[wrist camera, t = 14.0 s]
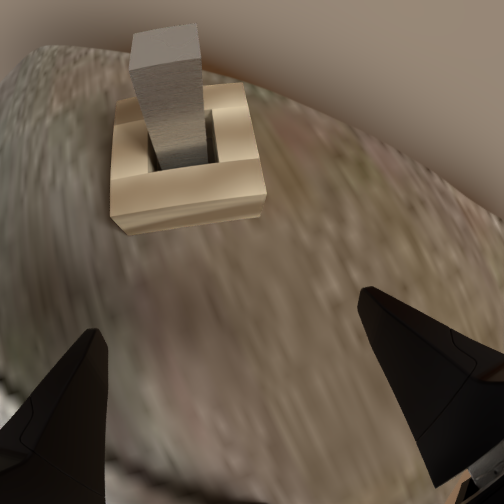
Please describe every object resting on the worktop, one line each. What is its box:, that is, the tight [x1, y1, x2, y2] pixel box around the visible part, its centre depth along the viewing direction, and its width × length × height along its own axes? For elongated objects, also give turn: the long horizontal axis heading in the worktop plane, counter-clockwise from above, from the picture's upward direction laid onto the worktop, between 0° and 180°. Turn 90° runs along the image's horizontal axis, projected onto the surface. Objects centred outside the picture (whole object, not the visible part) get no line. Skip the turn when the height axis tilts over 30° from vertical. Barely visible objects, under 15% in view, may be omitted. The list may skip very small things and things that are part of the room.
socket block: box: [110, 82, 267, 236], centre depth 23 cm, size 11×11×4 cm
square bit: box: [129, 23, 208, 171], centre depth 19 cm, size 4×4×13 cm
